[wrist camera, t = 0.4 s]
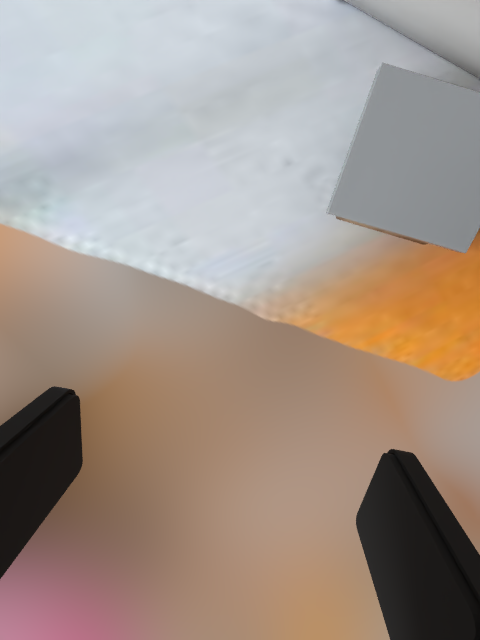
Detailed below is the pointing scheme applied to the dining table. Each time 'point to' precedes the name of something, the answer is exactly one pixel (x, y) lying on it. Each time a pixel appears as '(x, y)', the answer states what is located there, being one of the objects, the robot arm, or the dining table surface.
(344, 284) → the dining table surface
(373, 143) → the slab
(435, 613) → the robot arm
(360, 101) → the dining table surface
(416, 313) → the dining table surface
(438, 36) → the tube
